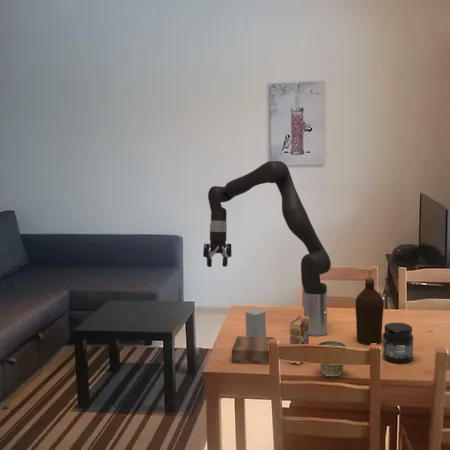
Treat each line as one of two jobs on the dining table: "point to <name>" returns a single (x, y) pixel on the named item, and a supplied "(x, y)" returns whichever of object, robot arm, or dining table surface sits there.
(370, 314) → the olive oil
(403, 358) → the supplement container
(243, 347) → the walnut plinth
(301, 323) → the candy box
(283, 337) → the dining table surface
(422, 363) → the dining table surface
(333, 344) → the ceramic cup
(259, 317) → the grey block
